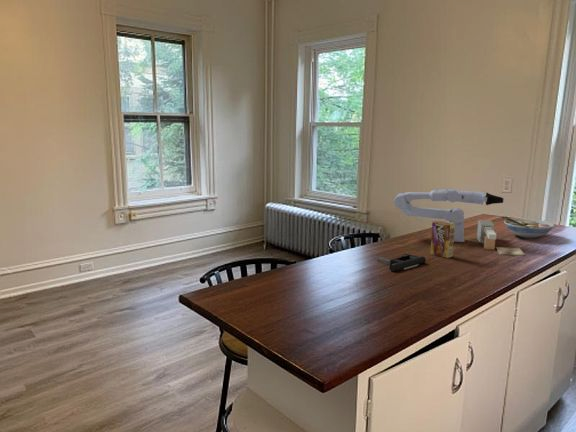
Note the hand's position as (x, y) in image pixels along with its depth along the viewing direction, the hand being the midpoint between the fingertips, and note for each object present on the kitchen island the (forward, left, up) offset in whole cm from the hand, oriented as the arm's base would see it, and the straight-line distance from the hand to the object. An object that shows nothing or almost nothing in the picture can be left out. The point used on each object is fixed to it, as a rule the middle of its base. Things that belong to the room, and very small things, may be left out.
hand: (502, 200), depth 208 cm
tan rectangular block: (-6, -10, -21) cm, 24 cm away
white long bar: (-6, -8, -15) cm, 18 cm away
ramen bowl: (+16, +18, -22) cm, 32 cm away
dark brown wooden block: (-6, +5, -21) cm, 23 cm away
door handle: (-46, -45, -22) cm, 68 cm away
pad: (+2, -15, -21) cm, 26 cm away
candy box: (-28, -28, -22) cm, 45 cm away
